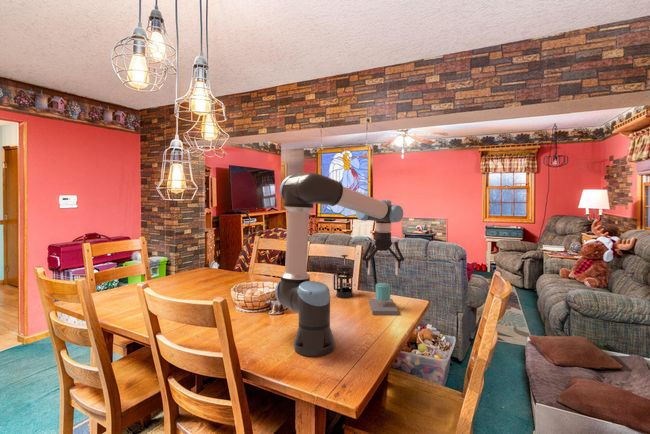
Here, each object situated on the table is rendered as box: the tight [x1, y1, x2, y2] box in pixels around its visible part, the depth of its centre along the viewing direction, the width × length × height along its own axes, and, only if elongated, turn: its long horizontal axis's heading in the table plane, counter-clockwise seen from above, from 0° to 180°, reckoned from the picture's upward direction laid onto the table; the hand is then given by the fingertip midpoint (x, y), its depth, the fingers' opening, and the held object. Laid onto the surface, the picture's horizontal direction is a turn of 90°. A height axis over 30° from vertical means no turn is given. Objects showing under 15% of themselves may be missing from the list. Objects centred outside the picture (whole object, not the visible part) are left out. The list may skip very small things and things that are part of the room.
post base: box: [368, 298, 399, 316], centre depth 162 cm, size 18×12×11 cm, turn 178°
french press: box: [333, 254, 354, 299], centre depth 182 cm, size 12×9×23 cm
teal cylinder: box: [375, 282, 391, 301], centre depth 161 cm, size 7×7×7 cm
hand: (382, 274), depth 161 cm, fingers open, 13 cm apart
